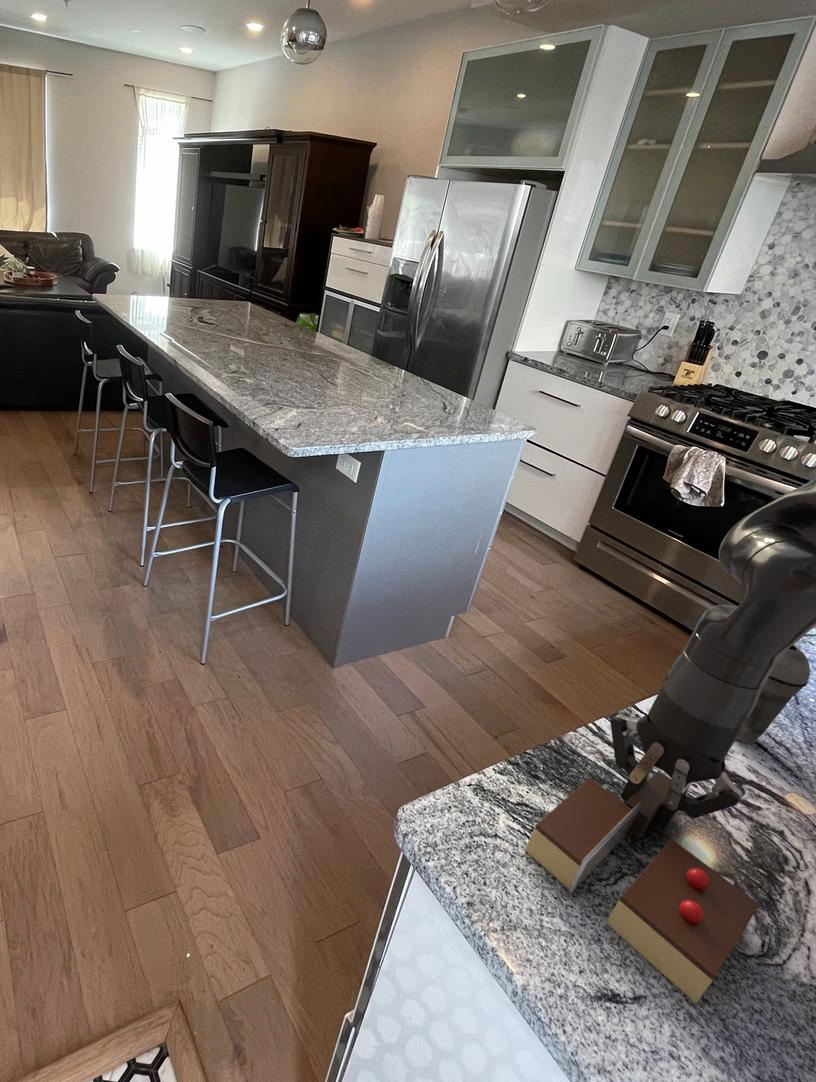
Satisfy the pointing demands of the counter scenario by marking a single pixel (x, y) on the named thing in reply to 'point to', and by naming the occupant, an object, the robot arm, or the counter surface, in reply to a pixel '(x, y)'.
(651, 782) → the knife
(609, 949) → the counter surface
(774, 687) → the beverage cup
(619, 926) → the sheet cake
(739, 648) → the robot arm
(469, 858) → the counter surface
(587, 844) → the cake slice
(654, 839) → the counter surface
